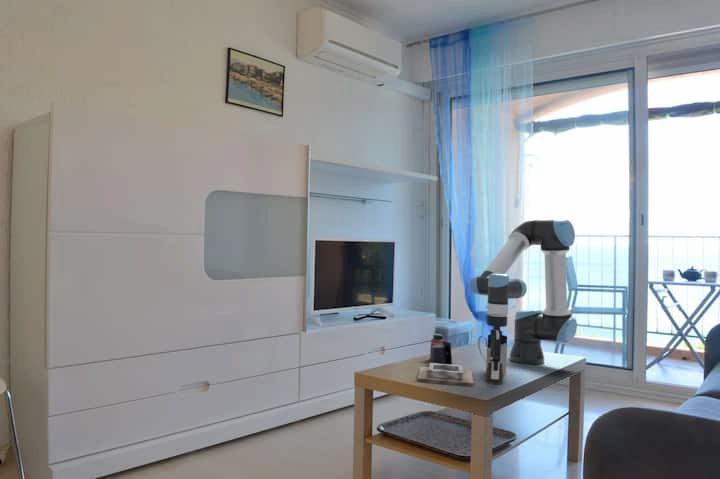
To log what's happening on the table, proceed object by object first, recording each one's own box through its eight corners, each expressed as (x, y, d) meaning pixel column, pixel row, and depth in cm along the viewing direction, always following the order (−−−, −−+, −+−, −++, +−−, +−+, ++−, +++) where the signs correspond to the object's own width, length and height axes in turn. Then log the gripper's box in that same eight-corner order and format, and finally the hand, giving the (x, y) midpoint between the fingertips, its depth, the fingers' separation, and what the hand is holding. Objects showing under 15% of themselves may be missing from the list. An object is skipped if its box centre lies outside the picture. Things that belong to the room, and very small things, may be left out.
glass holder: (497, 376, 210) (499, 338, 210) (469, 368, 221) (471, 332, 222) (511, 374, 215) (513, 337, 215) (484, 367, 226) (486, 331, 227)
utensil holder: (504, 384, 198) (505, 351, 198) (487, 383, 198) (488, 350, 199) (500, 380, 204) (501, 348, 204) (483, 379, 204) (485, 347, 204)
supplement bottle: (427, 360, 235) (428, 334, 235) (433, 358, 240) (434, 332, 240) (440, 362, 231) (441, 336, 232) (445, 360, 236) (447, 334, 237)
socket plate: (471, 373, 213) (471, 364, 213) (473, 386, 193) (473, 376, 193) (420, 369, 216) (420, 360, 216) (417, 381, 196) (417, 371, 196)
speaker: (449, 363, 228) (448, 339, 228) (452, 367, 222) (451, 342, 222) (431, 364, 228) (430, 340, 228) (434, 368, 222) (433, 343, 222)
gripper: (485, 311, 212) (482, 370, 211) (488, 317, 193) (485, 382, 193) (504, 312, 210) (502, 372, 210) (510, 319, 192) (507, 383, 191)
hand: (494, 376), depth 201 cm, fingers closed on utensil holder, 6 cm apart
